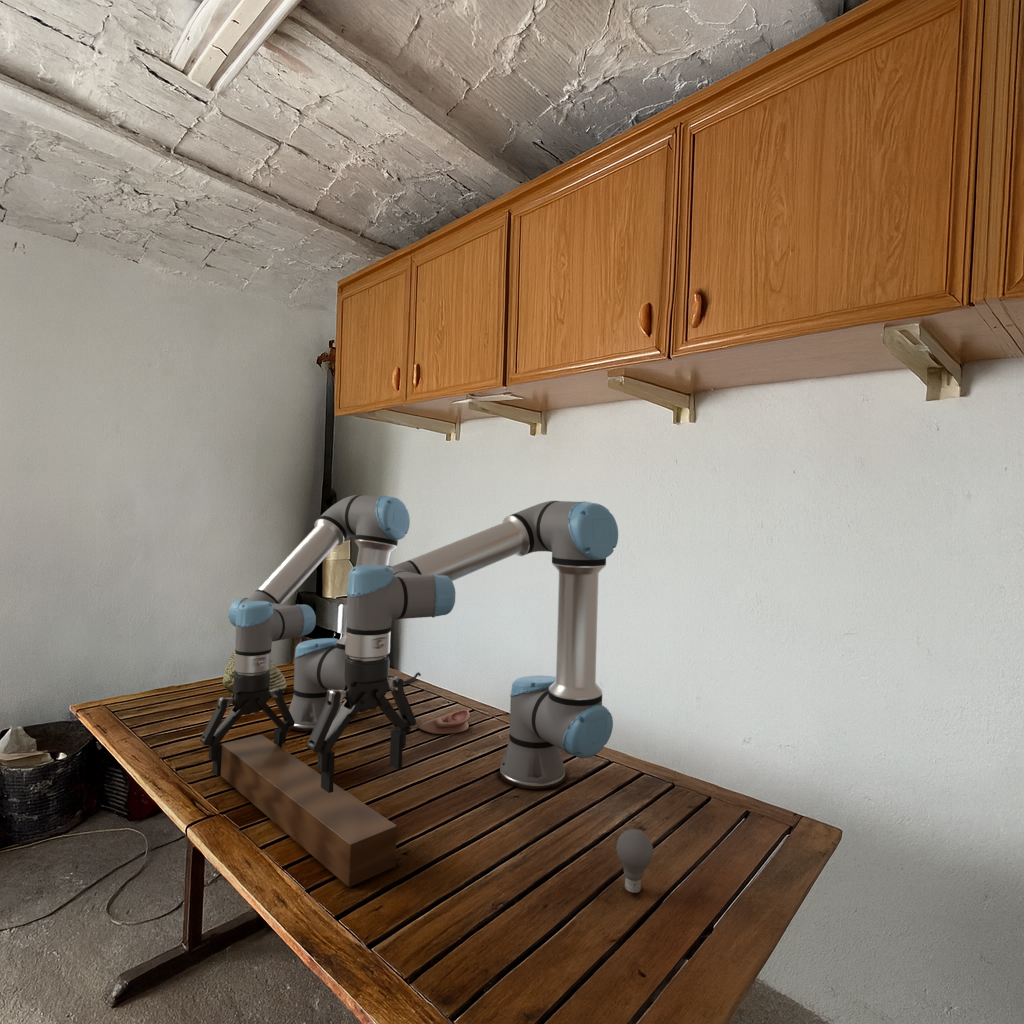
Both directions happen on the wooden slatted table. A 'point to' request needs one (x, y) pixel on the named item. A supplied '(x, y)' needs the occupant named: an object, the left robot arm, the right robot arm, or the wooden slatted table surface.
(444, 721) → the anatomical model
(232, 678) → the fossil
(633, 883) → the light bulb
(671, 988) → the wooden slatted table surface
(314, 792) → the beam
